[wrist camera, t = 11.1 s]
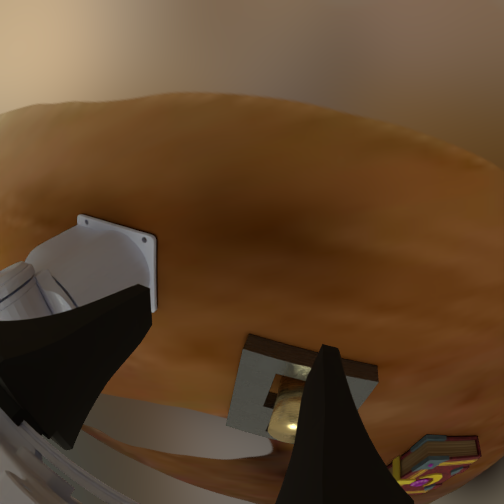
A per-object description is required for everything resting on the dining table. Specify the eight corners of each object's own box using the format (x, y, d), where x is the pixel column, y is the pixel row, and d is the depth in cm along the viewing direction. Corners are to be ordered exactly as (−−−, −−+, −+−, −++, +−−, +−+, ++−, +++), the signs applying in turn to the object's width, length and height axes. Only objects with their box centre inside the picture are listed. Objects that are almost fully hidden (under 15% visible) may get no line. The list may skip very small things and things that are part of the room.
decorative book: (478, 432, 24) (484, 459, 19) (418, 477, 31) (419, 499, 26) (425, 432, 25) (428, 463, 21) (367, 476, 33) (365, 500, 28)
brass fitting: (276, 389, 26) (263, 436, 21) (286, 364, 25) (273, 416, 19) (313, 398, 26) (306, 446, 21) (327, 375, 24) (321, 427, 19)
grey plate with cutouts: (230, 412, 30) (225, 425, 29) (249, 333, 24) (242, 348, 22) (324, 436, 28) (322, 449, 27) (377, 365, 22) (378, 382, 20)
